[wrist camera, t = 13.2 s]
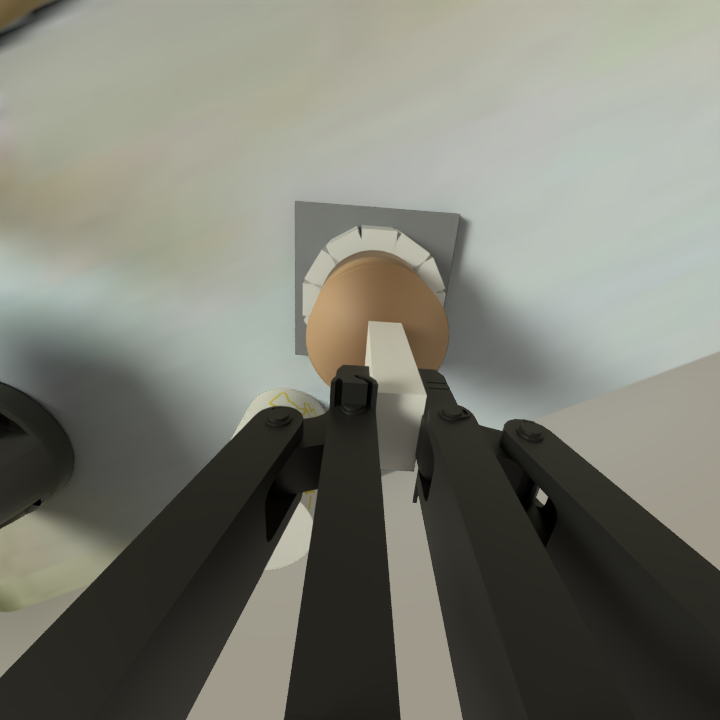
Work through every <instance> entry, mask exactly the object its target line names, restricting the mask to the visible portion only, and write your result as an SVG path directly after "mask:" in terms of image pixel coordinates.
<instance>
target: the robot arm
mask: <svg viewBox="0 0 720 720" xmlns="http://www.w3.org/2000/svg"><path fill="white" fill-rule="evenodd" d="M416 459H417V464H418V473H417V479H416V485H415V490H414V496H413V503H416V502H417V497H418V496H419V499H420V504H421V510H422V515H423V520H424V525H425V530H426V535H427V540H428V545H429V550H430V555H431V560H432V565H433V571H434V575H435V581H436V586H437V591H438V596H439V601H440V606H441V611H442V616H443V621H444V626H445V631H446V636H447V642H448V647H449V651H450V656H451V662H452V667H453V672H454V676H455V682H456V687H457V692H458V697H459V702H460V707H461V712H462V718H463V720H720V571H719V570H718V569H717V568H716V567H715V566H713V565H712V564H711V563H710V562H708V561H707V560H706V559H705V558H703V557H702V556H701V555H700V554H699V553H697V552H696V551H695V550H694V549H693V548H691V547H690V546H689V545H688V544H686V543H685V542H684V541H683V540H682V539H680V538H679V537H678V536H677V535H676V534H675V533H673V532H672V531H671V530H670V529H668V528H667V527H666V526H665V525H664V524H662V523H661V522H660V521H659V520H657V519H656V518H655V517H654V516H653V515H651V514H650V513H649V512H648V511H646V510H645V509H644V508H643V507H642V506H641V505H639V504H638V503H637V502H636V501H635V500H633V499H632V498H631V497H630V496H628V495H627V494H626V493H625V492H623V491H622V490H621V489H620V488H619V487H618V486H616V485H615V484H614V483H613V482H611V481H610V480H609V479H608V478H607V477H605V476H604V475H603V474H602V473H601V472H599V471H598V470H597V469H596V468H594V467H593V466H592V465H591V464H589V463H588V462H587V461H586V460H585V459H584V458H582V457H581V456H580V455H579V454H577V453H576V452H575V451H574V450H573V449H571V448H570V447H569V446H568V445H567V444H565V443H564V442H563V441H562V440H561V439H559V438H558V437H557V436H556V435H555V434H553V433H552V432H551V431H550V430H548V429H546V428H545V427H543V426H542V425H539V424H537V423H535V422H533V421H528V420H524V419H522V420H521V419H514V420H510V421H507V422H506V423H505V424H504V428H503V431H500V430H496V429H492V428H488V427H484V426H481V425H479V424H478V422H477V420H476V418H475V417H474V415H473V414H472V413H471V412H470V411H469V410H467V409H466V408H464V407H462V406H459V405H457V403H456V400H455V398H454V396H453V394H452V392H451V390H450V388H449V386H448V384H447V382H446V380H445V378H444V376H443V375H442V374H440V373H439V372H438V371H436V370H433V369H418V368H417V366H416V363H415V360H414V357H413V354H412V352H411V349H410V346H409V343H408V340H407V337H406V334H405V332H404V329H403V326H402V323H392V322H378V321H369V322H368V334H367V346H366V358H365V366H357V365H342V366H341V367H340V368H339V369H337V372H336V376H335V377H334V378H333V379H332V381H331V390H330V409H329V410H328V411H327V412H326V413H324V414H322V415H319V416H317V417H312V418H305V419H304V418H303V416H302V413H301V412H299V411H298V410H297V409H295V408H292V407H288V406H273V407H269V408H266V409H263V410H261V411H260V412H258V413H257V414H256V415H255V416H254V417H253V418H252V419H251V420H250V421H249V422H248V423H247V424H246V425H245V426H244V427H243V428H242V429H241V430H240V431H239V432H238V433H237V434H236V435H235V436H234V437H233V438H232V439H231V440H230V441H229V442H228V443H227V445H226V446H225V447H224V448H223V449H222V450H221V451H220V452H219V453H218V454H217V455H216V456H215V457H214V458H213V459H212V460H211V461H210V462H209V463H208V464H207V465H206V466H205V467H204V468H203V469H202V470H201V471H200V472H199V473H198V474H197V475H196V476H195V478H194V479H193V480H192V481H191V482H190V483H189V484H188V485H187V486H186V487H185V488H184V489H183V490H182V491H181V492H180V493H179V494H178V495H177V496H176V497H175V498H174V499H173V500H172V501H171V502H170V503H169V504H168V505H167V506H166V507H165V508H164V509H163V511H162V512H161V513H160V514H159V515H158V516H157V517H156V518H155V519H154V520H153V521H152V522H151V523H150V524H149V525H148V526H147V527H146V528H145V529H144V530H143V531H142V532H141V533H140V534H139V535H138V536H137V537H136V538H135V539H134V540H133V541H132V542H131V544H130V545H129V546H128V547H127V548H126V549H125V550H124V551H123V552H122V553H121V554H120V555H119V556H118V557H117V558H116V559H115V560H114V561H113V562H112V563H111V564H110V565H109V566H108V567H107V568H106V569H105V570H104V571H103V572H102V573H101V574H100V575H99V577H98V578H97V579H96V580H95V581H94V582H93V583H92V584H91V585H90V586H89V587H88V588H87V589H86V590H85V591H84V592H83V593H82V594H81V595H80V596H79V597H78V598H77V599H76V600H75V601H74V602H73V603H72V604H71V605H70V607H69V608H67V610H66V611H65V612H64V613H63V614H62V615H61V616H60V617H59V618H58V619H57V620H56V621H55V622H54V623H53V624H52V625H51V626H50V627H49V628H48V629H47V630H46V631H45V632H44V633H43V634H42V635H41V636H40V637H39V638H38V640H36V642H35V643H34V644H33V645H32V646H31V647H30V648H29V649H28V650H27V651H26V652H25V653H24V654H23V655H22V656H21V657H20V658H19V659H18V660H17V661H16V662H15V663H14V664H13V665H12V666H11V667H10V668H9V669H8V670H7V671H6V672H5V674H4V675H3V676H2V677H1V678H0V720H186V718H187V716H188V714H189V712H190V711H191V709H192V707H193V705H194V703H195V701H196V699H197V697H198V695H199V693H200V691H201V689H202V688H203V686H204V684H205V682H206V680H207V678H208V676H209V674H210V672H211V670H212V669H213V667H214V665H215V663H216V661H217V659H218V657H219V655H220V653H221V651H222V649H223V647H224V646H225V644H226V641H227V640H228V638H229V636H230V634H231V632H232V630H233V628H234V627H235V625H236V623H237V621H238V619H239V617H240V615H241V613H242V611H243V609H244V607H245V606H246V604H247V602H248V600H249V598H250V596H251V594H252V592H253V590H254V588H255V586H256V584H257V583H258V581H259V579H260V577H261V575H262V573H263V571H264V569H265V567H266V566H267V564H268V562H269V560H270V558H271V556H272V554H273V552H274V550H275V548H276V546H277V545H278V543H279V541H280V539H281V537H282V535H283V533H284V531H285V529H286V527H287V525H288V524H289V522H290V520H291V518H292V516H293V514H294V512H295V510H296V508H297V506H298V504H299V503H300V501H301V498H302V495H303V492H307V491H311V490H316V489H318V491H317V498H316V505H315V512H314V519H313V525H312V532H311V539H310V546H309V554H308V560H307V566H306V573H305V581H304V587H303V594H302V601H301V608H300V614H299V622H298V628H297V635H296V642H295V649H294V656H293V663H292V669H291V676H290V683H289V690H288V696H287V703H286V710H285V717H284V720H401V719H400V706H399V695H398V682H397V670H396V656H395V644H394V632H393V619H392V607H391V594H390V582H389V569H388V558H387V545H386V532H385V521H384V508H383V495H382V483H381V470H398V471H414V467H415V462H416ZM73 464H74V460H73V453H72V449H71V446H70V443H69V441H68V439H67V437H66V435H65V433H64V432H63V430H62V429H61V427H60V426H59V425H58V423H57V422H56V421H55V420H54V419H53V418H52V417H51V415H50V414H49V413H47V412H46V411H45V410H44V409H43V408H42V407H41V406H39V405H38V404H37V403H36V402H34V401H33V400H31V399H30V398H28V397H27V396H25V395H24V394H22V393H20V392H18V391H17V390H14V389H12V388H10V387H8V386H6V385H4V384H1V383H0V529H1V528H3V527H5V526H6V525H8V524H10V523H12V522H14V521H16V520H17V519H19V518H21V517H23V516H24V515H26V514H28V513H30V512H32V511H34V510H36V509H38V508H40V507H41V506H43V505H44V504H45V503H47V502H48V501H49V500H50V499H51V498H52V497H53V496H54V495H55V494H56V493H57V492H58V491H59V490H60V489H62V488H63V487H64V486H65V484H66V483H67V482H68V480H69V479H70V477H71V474H72V471H73ZM539 488H541V490H542V491H543V492H544V493H545V494H546V495H547V496H548V499H547V502H546V504H545V505H543V504H542V503H541V502H540V501H539V500H538V499H537V498H536V496H537V493H538V491H539Z"/></svg>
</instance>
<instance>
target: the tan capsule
mask: <svg viewBox="0 0 720 720" xmlns="http://www.w3.org/2000/svg"><path fill="white" fill-rule="evenodd" d="M369 321H378V322H392V323H402V326H403V329H404V332H405V334H406V337H407V340H408V343H409V346H410V349H411V352H412V354H413V357H414V360H415V363H416V366H417V368H418V369H433V370H436V371H438V369H439V368H440V366H441V364H442V362H443V360H444V357H445V355H446V352H447V348H448V341H449V327H448V321H447V317H446V314H445V311H444V309H443V307H442V305H441V303H440V301H439V300H438V298H437V297H436V295H435V294H434V293H433V292H432V290H431V289H430V288H429V287H428V286H427V285H426V283H425V282H424V281H423V280H422V279H421V278H420V276H419V275H418V274H417V273H416V272H415V271H414V269H413V268H412V267H411V266H410V265H409V264H408V263H407V262H406V261H404V260H403V259H401V258H400V257H398V256H396V255H394V254H392V253H388V252H385V251H379V250H368V251H361V252H358V253H355V254H352V255H350V256H348V257H346V258H345V259H343V260H342V261H340V262H339V263H338V264H337V265H336V266H335V267H334V268H333V269H332V270H331V272H330V273H329V274H328V276H327V278H326V280H325V282H324V284H323V286H322V288H321V291H320V293H319V295H318V297H317V300H316V302H315V304H314V306H313V309H312V311H311V314H310V316H309V319H308V323H307V328H306V346H307V351H308V355H309V358H310V361H311V363H312V365H313V367H314V369H315V370H316V372H317V373H318V375H319V376H320V377H321V379H322V380H323V381H324V382H325V383H326V384H327V385H328V386H330V387H331V381H332V379H333V378H334V377H335V376H336V372H337V369H339V368H340V367H341V366H342V365H357V366H365V358H366V346H367V334H368V322H369Z"/></svg>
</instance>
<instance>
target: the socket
mask: <svg viewBox="0 0 720 720" xmlns="http://www.w3.org/2000/svg"><path fill="white" fill-rule="evenodd" d="M459 218H460V214H455V213H442V212H429V211H416V210H404V209H391V208H378V207H365V206H353V205H340V204H327V203H314V202H302V201H295V355H308V351H307V346H306V328H307V323H308V319H309V316H310V314H311V311H312V309H313V306H314V304H315V302H316V300H317V297H318V295H319V293H320V291H321V288H322V286H323V284H324V282H325V280H326V278H327V276H328V274H329V273H330V272H331V270H332V269H333V268H334V267H335V266H336V265H337V264H338V263H339V262H340V261H342V260H343V259H345V258H346V257H348V256H350V255H352V254H355V253H358V252H361V251H368V250H379V251H385V252H388V253H392V254H394V255H396V256H398V257H400V258H401V259H403V260H404V261H406V262H407V263H408V264H409V265H410V266H411V267H412V268H413V269H414V271H415V272H416V273H417V274H418V275H419V276H420V278H421V279H422V280H423V281H424V282H425V283H426V285H427V286H428V287H429V288H430V289H431V290H432V292H433V293H434V294H435V295H436V297H437V298H438V300H439V301H440V303H441V305H442V307H443V309H444V304H445V298H446V293H447V287H448V281H449V275H450V270H451V264H452V258H453V252H454V247H455V241H456V235H457V229H458V224H459Z"/></svg>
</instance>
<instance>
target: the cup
mask: <svg viewBox="0 0 720 720" xmlns="http://www.w3.org/2000/svg"><path fill="white" fill-rule="evenodd" d="M273 406H288V407H292V408H295V409H297V410H298V411H299V412H301V413H302V416H303V418H304V419H305V418H312V417H317V416H319V415H322V414H324V413H326V412H325V410H324V409H323V407H322V406H321V405H320V404H319V402H317V401H316V400H315V399H314V398H313V397H311V396H310V395H308V394H306V393H304V392H301V391H298V390H295V389H288V388H279V389H273V390H269V391H267V392H264V393H262V394H261V395H259V396H258V397H256V398H255V399H254V400H253V401H252V402H251V404H250V405H249V407H248V409H247V411H246V412H245V414H244V416H243V418H242V420H241V422H240V423H239V425H238V427H237V429H236V431H235V433H234V434H233V436H232V438H233V437H234V436H235V435H236V434H237V433H238V432H239V431H240V430H241V429H242V428H243V427H244V426H245V425H246V424H247V423H248V422H249V421H250V420H251V419H252V418H253V417H254V416H255V415H256V414H257V413H258V412H260V411H261V410H263V409H266V408H269V407H273ZM232 438H231V439H232ZM317 491H318V489H316V490H311V491H307V492H303V495H302V498H301V501H300V503H299V504H298V506H297V508H296V510H295V512H294V514H293V516H292V518H291V520H290V522H289V524H288V525H287V527H286V529H285V531H284V533H283V535H282V537H281V539H280V541H279V543H278V545H277V546H276V548H275V550H274V552H273V554H272V556H271V558H270V560H269V562H268V564H267V566H266V567H265V569H264V571H266V570H274V569H279V568H283V567H286V566H288V565H290V564H293V563H294V562H296V561H298V560H299V559H301V558H302V557H303V556H304V555H305V554H306V553H307V552H308V550H309V546H310V539H311V532H312V525H313V519H314V512H315V505H316V498H317Z"/></svg>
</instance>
